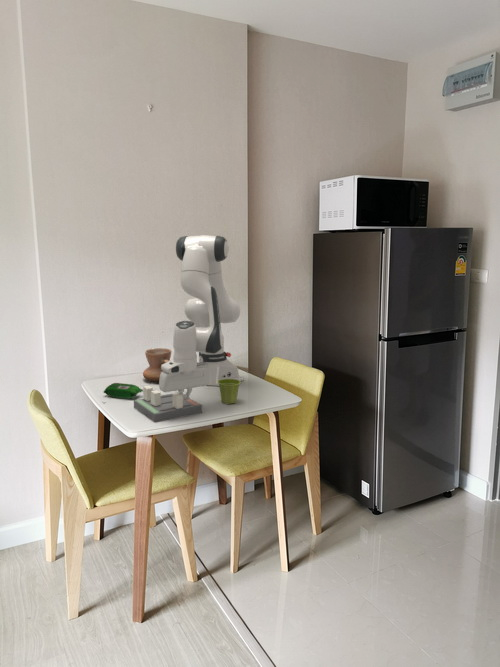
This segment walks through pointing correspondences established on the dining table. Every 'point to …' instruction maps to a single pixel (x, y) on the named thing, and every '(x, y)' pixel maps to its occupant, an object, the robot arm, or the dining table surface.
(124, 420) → the dining table surface
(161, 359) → the ceramic jug
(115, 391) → the snack package
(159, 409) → the panel
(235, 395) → the plant pot
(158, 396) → the block
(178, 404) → the block
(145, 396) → the inner breaker
